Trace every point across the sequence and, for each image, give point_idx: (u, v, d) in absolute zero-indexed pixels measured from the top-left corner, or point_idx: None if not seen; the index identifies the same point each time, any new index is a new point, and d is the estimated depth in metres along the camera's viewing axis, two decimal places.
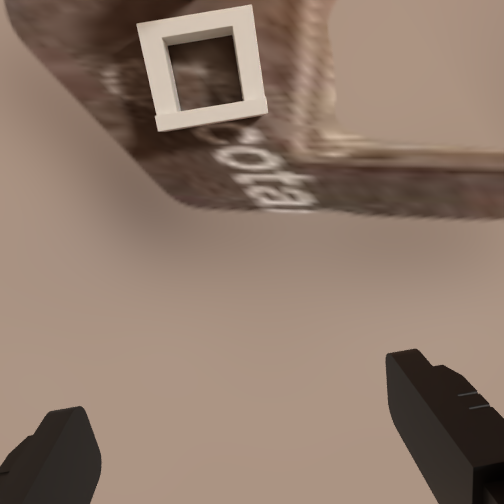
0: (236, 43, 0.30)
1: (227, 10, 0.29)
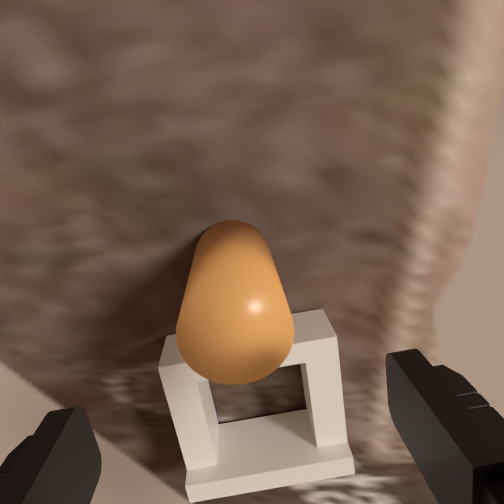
0: (310, 382, 0.20)
1: (299, 345, 0.19)
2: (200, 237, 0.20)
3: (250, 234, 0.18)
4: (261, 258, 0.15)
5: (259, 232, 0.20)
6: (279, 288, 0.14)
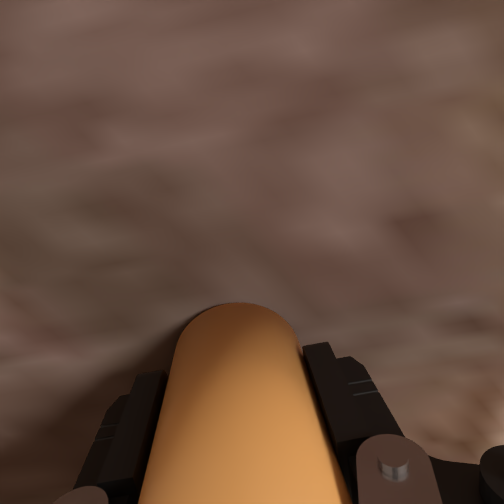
0: None
1: None
2: (183, 331, 0.12)
3: (272, 342, 0.10)
4: (305, 436, 0.07)
5: (285, 323, 0.11)
6: None
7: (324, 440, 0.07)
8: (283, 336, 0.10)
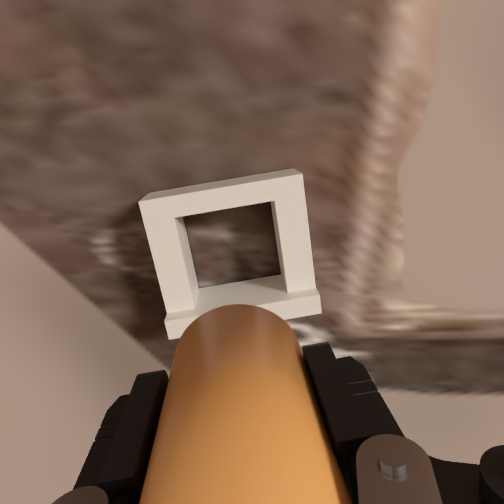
0: (279, 222, 0.21)
1: (267, 182, 0.21)
2: (183, 332, 0.12)
3: (273, 344, 0.10)
4: (306, 438, 0.07)
5: (285, 325, 0.11)
6: None
7: (324, 442, 0.07)
8: (283, 338, 0.10)
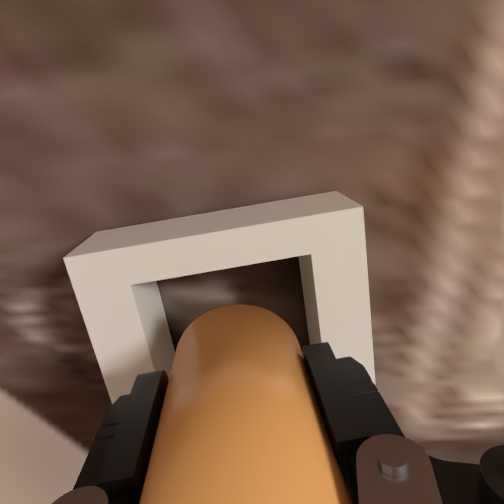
0: (317, 291, 0.12)
1: (300, 221, 0.11)
2: None
3: (273, 344, 0.10)
4: (305, 438, 0.07)
5: (285, 325, 0.11)
6: None
7: (324, 442, 0.07)
8: (283, 338, 0.10)
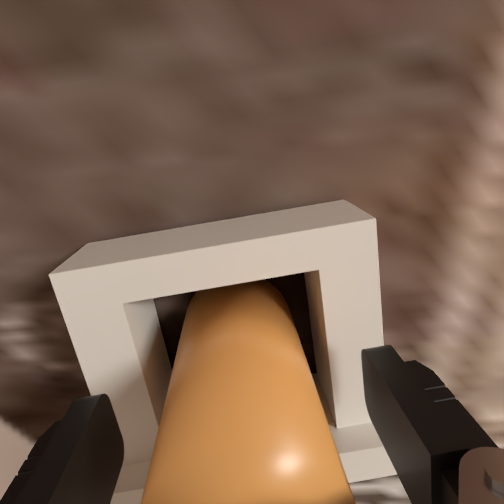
0: (326, 309, 0.11)
1: (307, 235, 0.10)
2: None
3: (266, 301, 0.12)
4: (288, 358, 0.09)
5: (277, 291, 0.14)
6: (325, 431, 0.08)
7: (303, 365, 0.10)
8: (275, 298, 0.13)
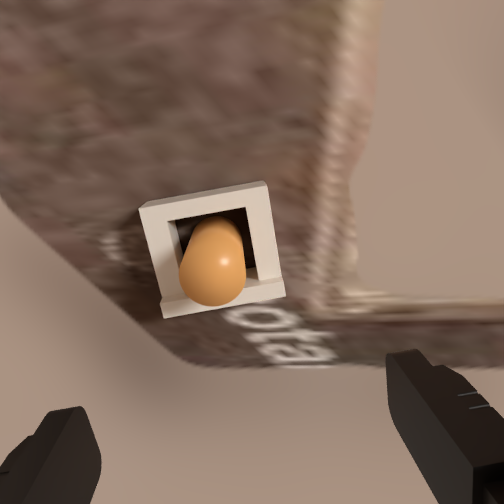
0: (250, 224, 0.27)
1: (239, 192, 0.26)
2: (195, 227, 0.30)
3: (226, 223, 0.28)
4: (230, 235, 0.25)
5: (234, 223, 0.30)
6: (238, 250, 0.24)
7: (237, 240, 0.26)
8: (231, 224, 0.29)
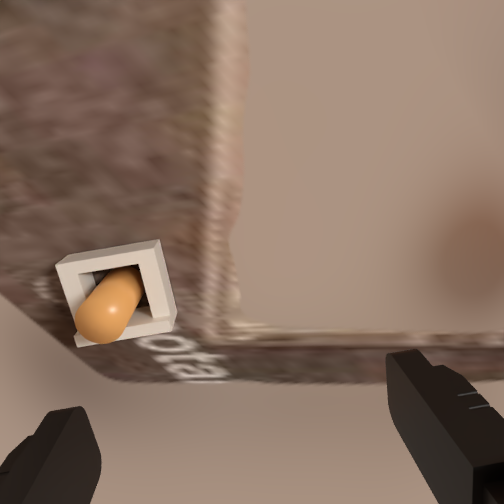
0: (142, 276, 0.35)
1: (132, 253, 0.35)
2: None
3: (127, 274, 0.36)
4: (121, 288, 0.33)
5: (137, 272, 0.38)
6: (122, 302, 0.32)
7: (128, 291, 0.34)
8: (133, 274, 0.37)
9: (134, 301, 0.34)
